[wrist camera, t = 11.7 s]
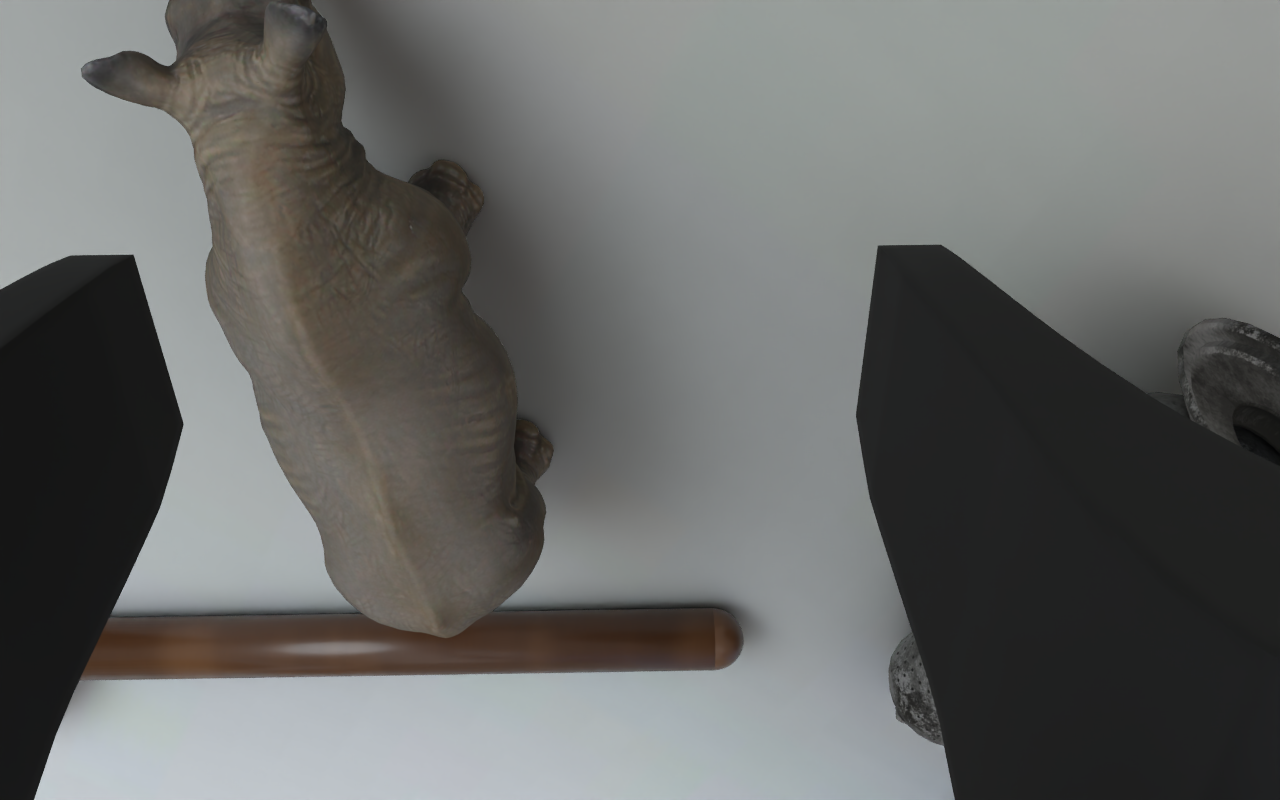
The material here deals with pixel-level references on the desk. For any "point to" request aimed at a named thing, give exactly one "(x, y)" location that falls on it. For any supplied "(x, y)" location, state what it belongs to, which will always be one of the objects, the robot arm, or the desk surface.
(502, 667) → the brown long-handled part
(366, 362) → the rhino figurine
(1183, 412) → the grey weathered turned ornament
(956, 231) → the desk surface
